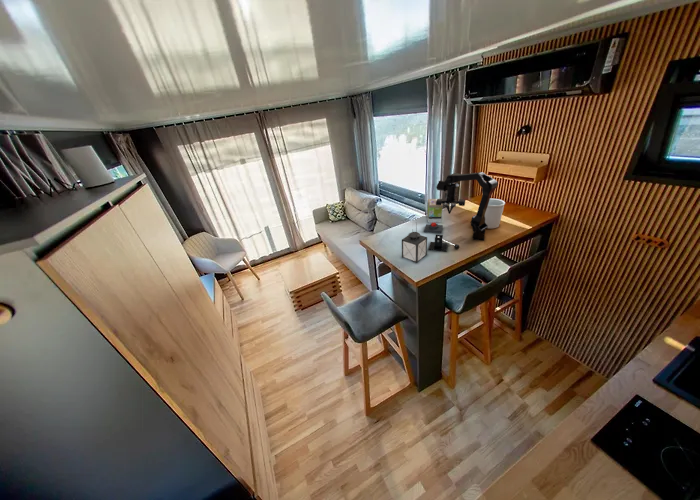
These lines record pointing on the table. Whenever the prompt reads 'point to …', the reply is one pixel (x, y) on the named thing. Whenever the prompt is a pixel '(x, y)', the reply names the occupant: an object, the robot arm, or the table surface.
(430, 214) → the tea box
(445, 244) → the bracket
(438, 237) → the lever
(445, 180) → the robot arm
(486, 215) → the utensil holder
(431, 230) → the button block
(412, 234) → the lantern
